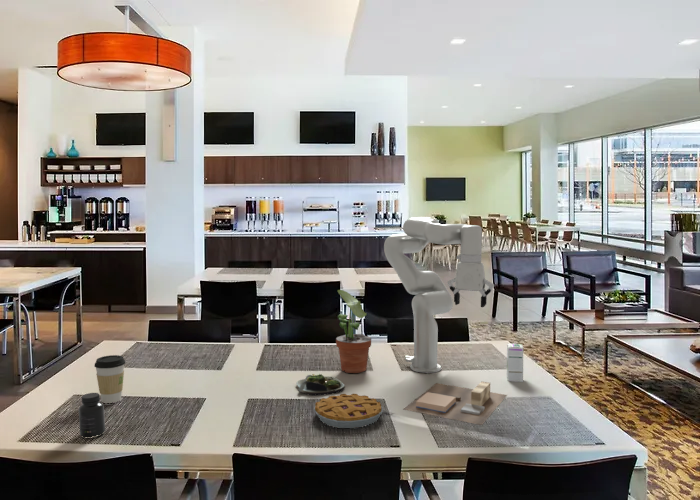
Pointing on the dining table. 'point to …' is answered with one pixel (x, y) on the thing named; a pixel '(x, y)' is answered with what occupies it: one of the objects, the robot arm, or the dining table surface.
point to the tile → (436, 402)
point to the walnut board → (459, 404)
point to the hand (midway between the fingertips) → (470, 305)
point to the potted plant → (352, 338)
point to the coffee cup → (110, 377)
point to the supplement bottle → (91, 415)
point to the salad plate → (319, 385)
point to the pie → (348, 410)
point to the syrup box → (515, 362)
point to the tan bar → (478, 399)
